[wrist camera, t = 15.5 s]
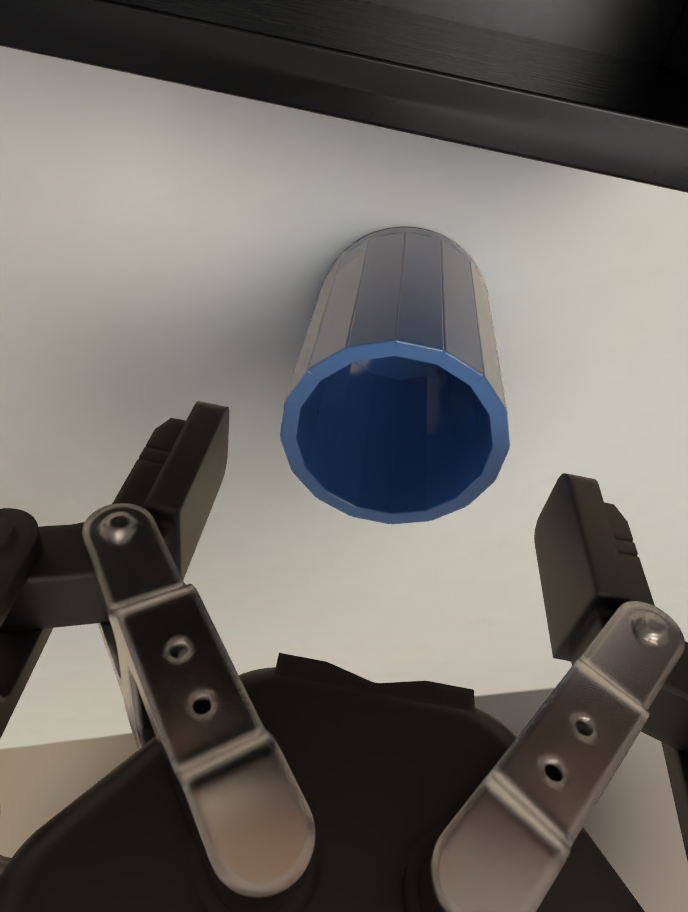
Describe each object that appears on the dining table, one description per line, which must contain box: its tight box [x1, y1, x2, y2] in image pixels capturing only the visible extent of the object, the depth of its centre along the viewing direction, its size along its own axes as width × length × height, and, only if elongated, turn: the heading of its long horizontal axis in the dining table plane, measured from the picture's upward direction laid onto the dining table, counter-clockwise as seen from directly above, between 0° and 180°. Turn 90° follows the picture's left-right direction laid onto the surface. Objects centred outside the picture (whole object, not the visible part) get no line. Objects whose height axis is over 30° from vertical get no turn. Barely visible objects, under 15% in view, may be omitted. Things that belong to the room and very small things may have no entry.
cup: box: [280, 227, 510, 524], centre depth 20 cm, size 6×6×8 cm
